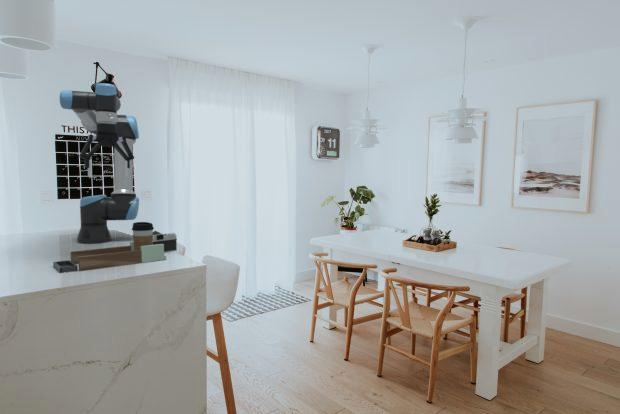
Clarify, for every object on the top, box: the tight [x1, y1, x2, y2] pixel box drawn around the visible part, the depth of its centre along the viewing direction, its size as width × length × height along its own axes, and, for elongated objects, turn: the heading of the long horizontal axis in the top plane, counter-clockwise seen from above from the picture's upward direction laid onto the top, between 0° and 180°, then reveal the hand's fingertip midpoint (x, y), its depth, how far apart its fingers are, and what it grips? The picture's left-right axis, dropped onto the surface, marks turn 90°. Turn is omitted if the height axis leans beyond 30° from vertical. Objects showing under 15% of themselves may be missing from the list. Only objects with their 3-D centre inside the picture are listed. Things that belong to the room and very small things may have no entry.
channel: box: [70, 245, 142, 272], centre depth 159 cm, size 13×22×5 cm, turn 132°
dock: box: [129, 240, 167, 264], centre depth 169 cm, size 13×10×6 cm
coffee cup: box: [131, 221, 154, 250], centre depth 168 cm, size 8×8×15 cm
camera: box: [153, 230, 178, 254], centre depth 184 cm, size 16×9×10 cm, turn 140°
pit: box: [52, 259, 79, 274], centre depth 150 cm, size 12×6×2 cm, turn 42°
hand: (108, 176), depth 166 cm, fingers open, 13 cm apart
